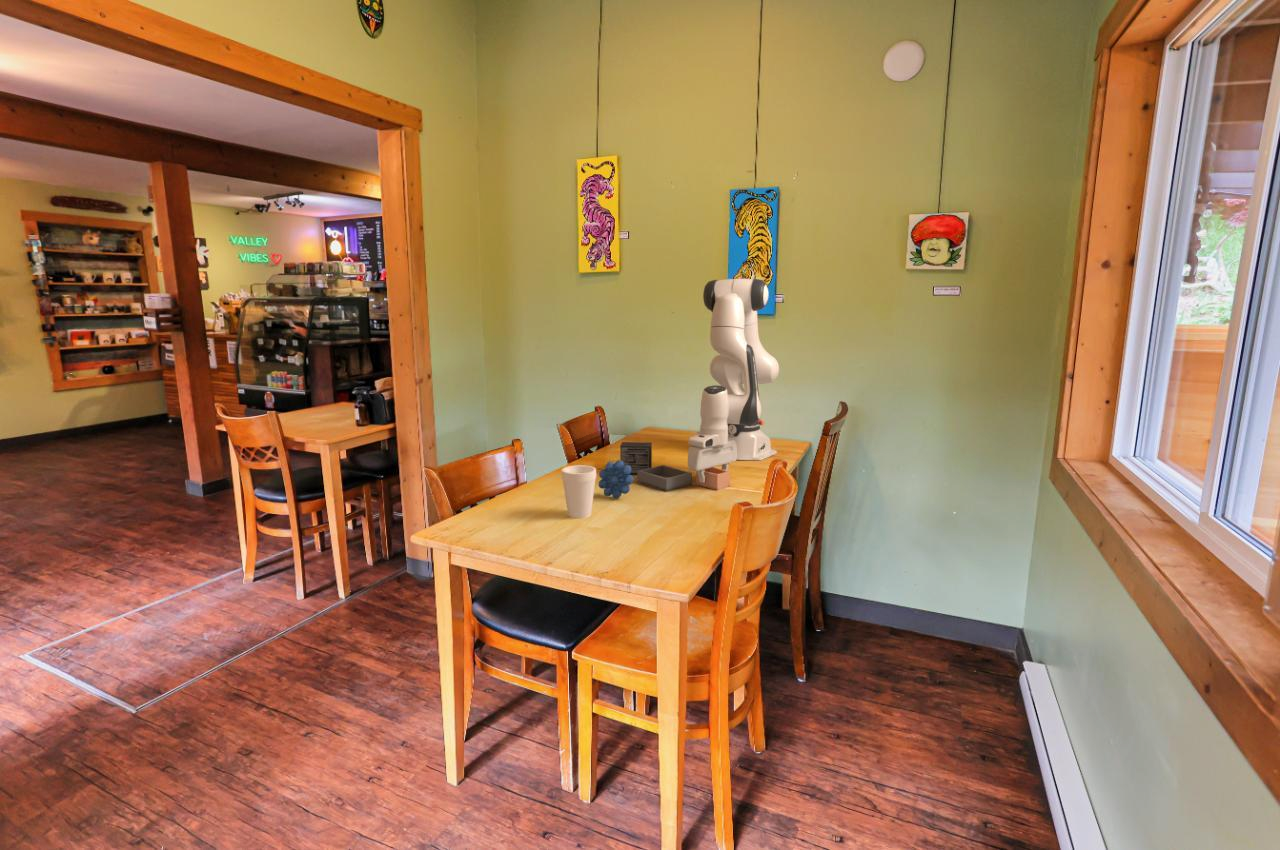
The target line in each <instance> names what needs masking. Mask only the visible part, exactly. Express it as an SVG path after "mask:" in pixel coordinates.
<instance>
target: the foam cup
mask: <svg viewBox="0 0 1280 850" xmlns="http://www.w3.org/2000/svg"><path fill="white" fill-rule="evenodd" d="M596 479H597V468H596V467H594V466H591V465H585V464H583V465H582V464H576V465H575V464H574V465H569V466H566V467H565V466H564V467H562V469H561V480H562V485H563V490H564V496H565V502H566V503H565V504H566V509H567V514H568V516H569V517H570V518H572V519H585V518H589V517H591V515H592V512H593V504H594V503H593V502H594V494H595V486H596V485H595V484H596Z"/></svg>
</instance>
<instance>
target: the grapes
mask: <svg viewBox="0 0 1280 850" xmlns="http://www.w3.org/2000/svg"><path fill="white" fill-rule="evenodd" d="M630 473H631V467H630V466H628V465H626V466H624V463H623V461H621V459H618V460H616V461H615V462H613V461H608V462H607V463H606V464H605V468H602V469H601V470H600V471H599V478H600V480H599V481H598V487H599V488H600V489H603V495H604V496H605V497H610V496H611V497H613V498H614V499H619V498H621V496H622V494H624V495H626V494H628V493H629V492H630V489H631V487H630V485H632V484H633V483H634V480H635V479H634V475H629V474H630Z"/></svg>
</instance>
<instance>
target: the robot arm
mask: <svg viewBox="0 0 1280 850" xmlns="http://www.w3.org/2000/svg"><path fill="white" fill-rule="evenodd" d="M769 294H770V293H769V288H768V286H767V283H766V282H765V280H762V279H759V278H753V279H751V278H744V277H743V278H739V277H738V278H726V279H720V280H719V279H714V280H709V281H708V282H707V283H706V284H705V285H704V288H703V292H702V299H703V304H704V306H705V308H706V309H707V310H708V311H711V313H712V315H711V318H710V319H711V320H710V328H709V329H710V330H709V341H710V346H711V347H712V348H713V350H714V351H715V352H716V353H717V354H718V355H714V357H713V358H712V360H711V362H710V365H709V373H710V376H711V378H712V379H713V380H714V381H716V383H718V384H715V385H709V386H706V387H705V388H704V389H703V391H702V394H701V401H700V420H701V423H700V425H699V427H700V428H699V431H698V432H696V433H695V434H694V435H692V436H690V437H689V439H688V445H690V446H689V448H688V451H687V466H688V469H689V470H691V471H693V472H696V471H697V473H698V475H699V481H700V482H701V483H704V482H706V481H707V480H706V479H707V477H705V476H704V473H703V472H705V469H708V468H712V467H714V468H717V467H720V466H721V468H720V469H721V470H725V471H728V469H729V467H730V464H731V463H735V462H736V461H737V460H740V461H763V460H765V459H768V458H769V457H772V456H773V455H776V454H778V451H777V450H775V448H771V447H772V446H771V439H770V437H769V436H768V435H767V434H766V433H765V432H764V431H762V429H761V428H760V427H761V426H764V424H765V420H764V419H761V418H762V413H763V412H762V411H763V410H762V403H761V399H760V393H759V385H763V384H770V383H773V382H775V381H776V379H777V378H778V376H779V374H780V365H779V362H778V360H777V358H776V357H774V356H773V355H771V354H770V353H769V352H768V351H767V350H766V349H765V348H764V346H763V344H762V343H761V340H760V336H759V335H760V334H759V325H758V311H760V310H761V311H762V310H763V309H764V308H765V307H766V306H767V302H768V301H769V300H768V299H769ZM743 385H744V387H743Z"/></svg>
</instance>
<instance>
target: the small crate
mask: <svg viewBox="0 0 1280 850" xmlns="http://www.w3.org/2000/svg"><path fill="white" fill-rule="evenodd" d="M695 472H696V477H695V478H696V479H695V484H696V485H697V486H700V487H704V488H708V489H711V490H715V491H720V490H722V489H727V488H730V485H731V484H730V482H731V481H730V480H731V471H728V470H727V471H725V470H721V468H717V467H712V468H708V469H705V472H703V473H704V476H705V477H707V479H706V480H707V481H706V482H704V483H701V482H700V481H699V475H698V473H697V471H695Z"/></svg>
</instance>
